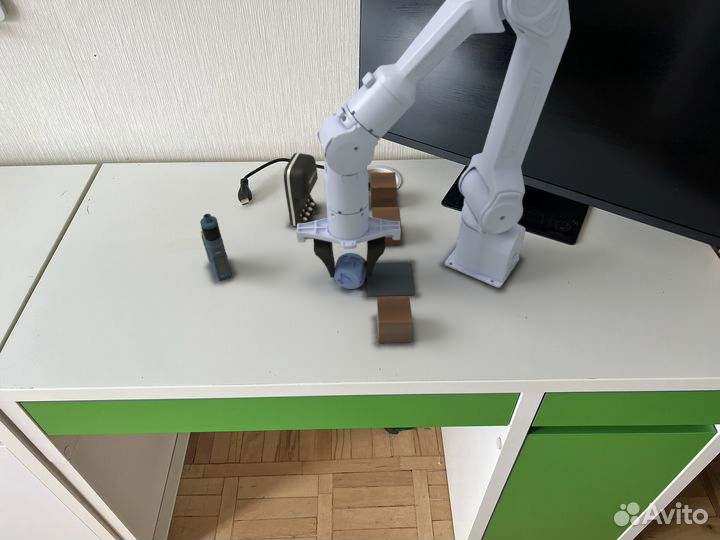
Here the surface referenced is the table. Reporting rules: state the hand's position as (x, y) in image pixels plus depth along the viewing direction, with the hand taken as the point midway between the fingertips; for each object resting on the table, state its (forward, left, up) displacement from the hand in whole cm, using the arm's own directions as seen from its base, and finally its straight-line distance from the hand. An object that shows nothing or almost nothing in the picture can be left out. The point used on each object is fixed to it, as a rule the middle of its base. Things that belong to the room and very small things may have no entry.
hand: (350, 272), depth 81 cm
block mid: (+1, -12, -2) cm, 12 cm away
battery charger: (+16, -9, -2) cm, 18 cm away
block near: (-11, +5, -2) cm, 12 cm away
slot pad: (-5, -3, -2) cm, 6 cm away
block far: (+7, -20, -2) cm, 21 cm away
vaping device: (+19, +9, -2) cm, 21 cm away
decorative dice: (0, 0, -2) cm, 2 cm away
